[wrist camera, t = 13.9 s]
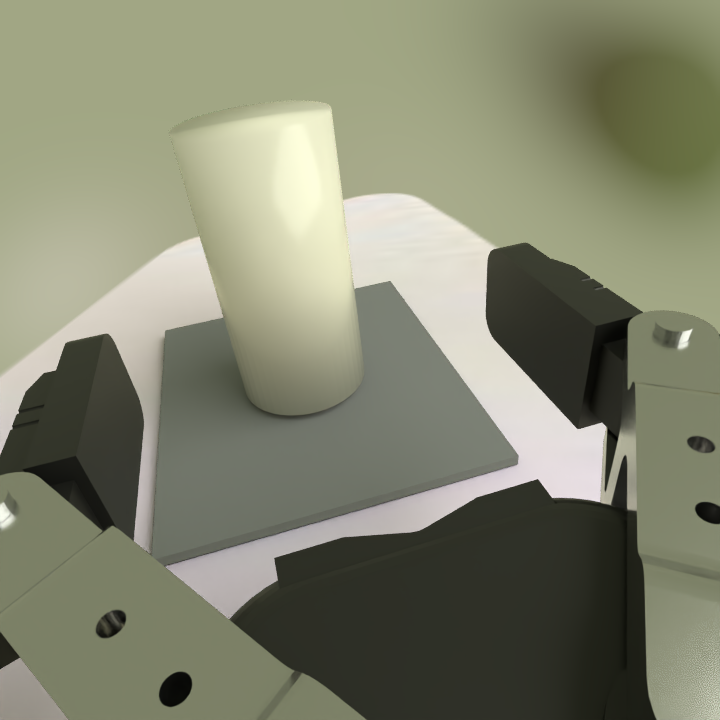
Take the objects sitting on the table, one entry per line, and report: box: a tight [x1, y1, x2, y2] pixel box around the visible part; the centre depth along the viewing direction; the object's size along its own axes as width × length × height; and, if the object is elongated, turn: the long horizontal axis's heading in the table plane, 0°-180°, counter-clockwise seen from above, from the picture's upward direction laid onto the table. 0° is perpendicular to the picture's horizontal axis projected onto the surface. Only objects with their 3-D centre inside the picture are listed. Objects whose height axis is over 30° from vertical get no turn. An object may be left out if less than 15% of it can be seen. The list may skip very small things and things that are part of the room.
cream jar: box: [169, 101, 365, 416], centre depth 20 cm, size 5×5×10 cm
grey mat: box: [152, 281, 518, 566], centre depth 23 cm, size 12×14×1 cm
